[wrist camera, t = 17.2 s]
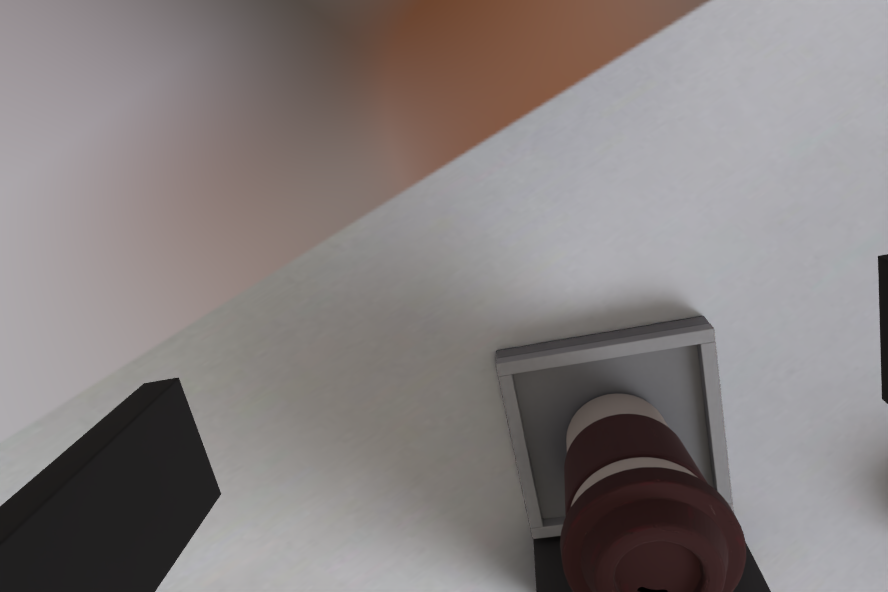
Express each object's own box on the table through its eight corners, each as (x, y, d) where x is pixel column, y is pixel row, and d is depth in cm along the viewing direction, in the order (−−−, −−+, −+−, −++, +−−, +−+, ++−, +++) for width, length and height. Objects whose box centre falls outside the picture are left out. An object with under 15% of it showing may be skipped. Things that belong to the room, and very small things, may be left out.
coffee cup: (609, 347, 47) (653, 464, 33) (714, 427, 49) (799, 572, 34) (520, 442, 50) (526, 587, 36) (621, 515, 52) (665, 682, 37)
